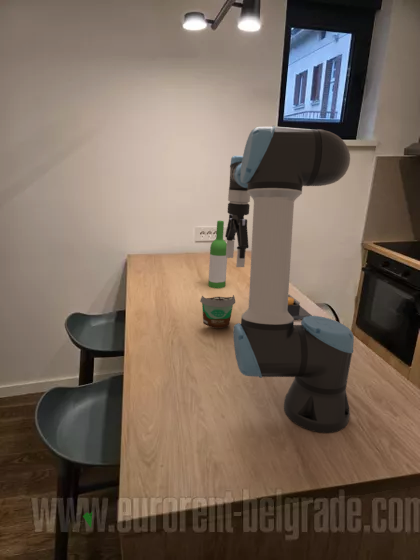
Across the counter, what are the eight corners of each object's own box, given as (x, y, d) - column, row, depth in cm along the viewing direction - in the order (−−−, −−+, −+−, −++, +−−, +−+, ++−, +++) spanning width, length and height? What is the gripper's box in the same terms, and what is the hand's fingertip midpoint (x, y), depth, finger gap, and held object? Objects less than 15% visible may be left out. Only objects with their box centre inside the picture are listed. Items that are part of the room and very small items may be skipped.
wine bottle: (228, 289, 170) (232, 222, 162) (211, 290, 167) (215, 222, 159) (221, 284, 177) (225, 219, 169) (205, 285, 174) (208, 219, 166)
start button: (295, 308, 139) (296, 300, 138) (283, 308, 138) (284, 300, 137) (290, 304, 143) (291, 296, 143) (279, 304, 142) (280, 296, 142)
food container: (203, 330, 126) (205, 301, 123) (199, 323, 132) (200, 295, 129) (238, 328, 129) (240, 300, 126) (232, 321, 135) (234, 294, 132)
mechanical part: (82, 516, 147) (100, 499, 151) (86, 519, 152) (103, 503, 156) (100, 542, 142) (118, 524, 146) (103, 544, 147) (120, 527, 150)
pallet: (311, 319, 141) (313, 305, 139) (267, 320, 137) (269, 306, 135) (288, 300, 160) (289, 287, 159) (249, 301, 156) (250, 288, 155)
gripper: (261, 207, 121) (256, 271, 127) (238, 199, 144) (234, 254, 151) (239, 206, 119) (234, 271, 126) (219, 198, 143) (216, 254, 149)
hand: (234, 262), depth 138 cm, fingers open, 13 cm apart
